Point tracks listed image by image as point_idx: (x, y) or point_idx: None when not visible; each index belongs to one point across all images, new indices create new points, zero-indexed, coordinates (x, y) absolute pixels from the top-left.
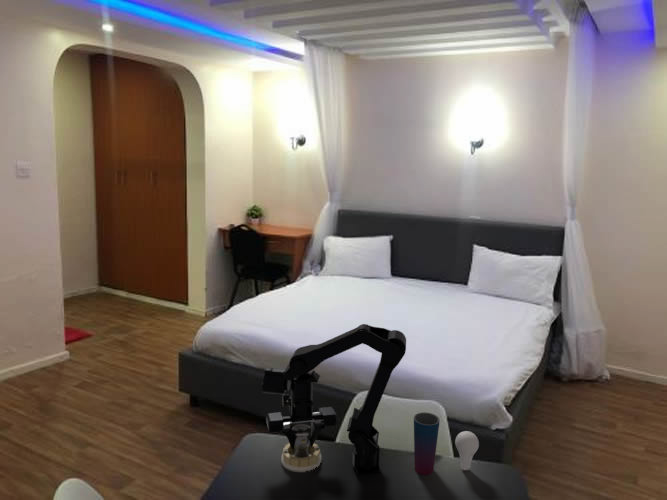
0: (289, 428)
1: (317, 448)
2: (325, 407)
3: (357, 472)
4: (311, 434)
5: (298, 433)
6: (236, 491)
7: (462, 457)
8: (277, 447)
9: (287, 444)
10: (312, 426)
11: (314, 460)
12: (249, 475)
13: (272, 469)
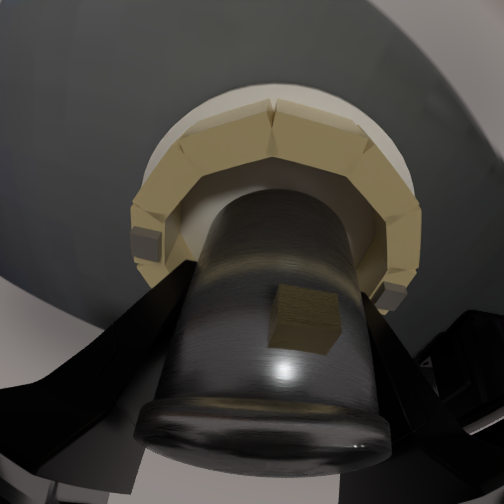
0: (104, 498)
1: (383, 307)
2: None
3: (420, 363)
4: None
5: (202, 467)
6: (22, 282)
7: None
8: (163, 3)
9: (181, 146)
10: (384, 481)
11: None
12: (29, 229)
13: (104, 227)
